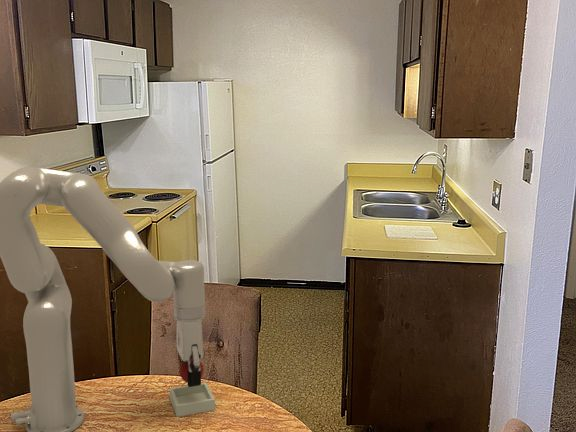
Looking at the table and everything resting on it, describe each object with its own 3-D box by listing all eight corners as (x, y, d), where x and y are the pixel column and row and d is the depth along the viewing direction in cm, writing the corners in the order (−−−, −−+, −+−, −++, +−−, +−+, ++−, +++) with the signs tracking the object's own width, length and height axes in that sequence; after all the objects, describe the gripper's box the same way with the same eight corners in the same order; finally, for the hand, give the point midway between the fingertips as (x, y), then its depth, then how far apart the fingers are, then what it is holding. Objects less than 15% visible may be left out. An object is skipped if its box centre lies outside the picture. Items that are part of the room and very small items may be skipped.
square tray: (176, 417, 137) (176, 406, 136) (169, 398, 145) (169, 388, 145) (215, 409, 140) (215, 399, 139) (206, 392, 149) (206, 382, 148)
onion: (191, 392, 138) (190, 361, 136) (175, 385, 141) (174, 355, 140) (208, 383, 142) (207, 353, 141) (192, 376, 146) (191, 347, 144)
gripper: (168, 302, 145) (170, 367, 148) (180, 325, 129) (183, 398, 132) (197, 298, 147) (199, 363, 151) (212, 321, 132) (214, 392, 135)
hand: (191, 379), depth 141 cm, fingers closed on onion, 5 cm apart
